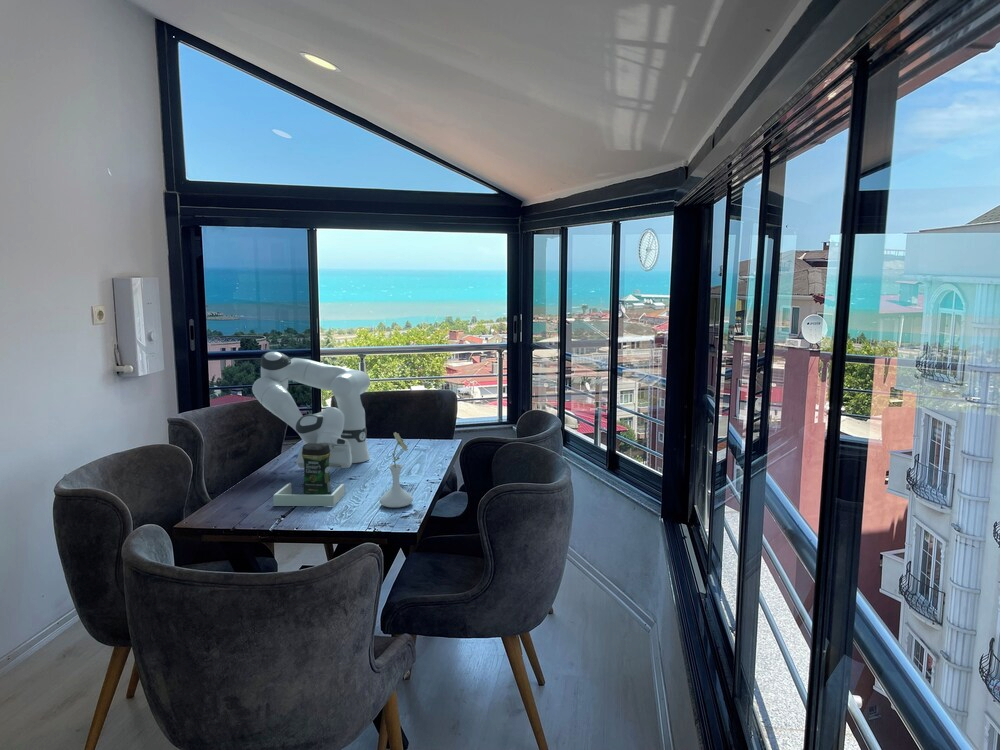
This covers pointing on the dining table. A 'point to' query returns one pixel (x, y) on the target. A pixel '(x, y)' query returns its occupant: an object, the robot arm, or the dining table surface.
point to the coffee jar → (316, 469)
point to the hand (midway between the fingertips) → (320, 476)
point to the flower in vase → (396, 483)
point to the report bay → (306, 498)
